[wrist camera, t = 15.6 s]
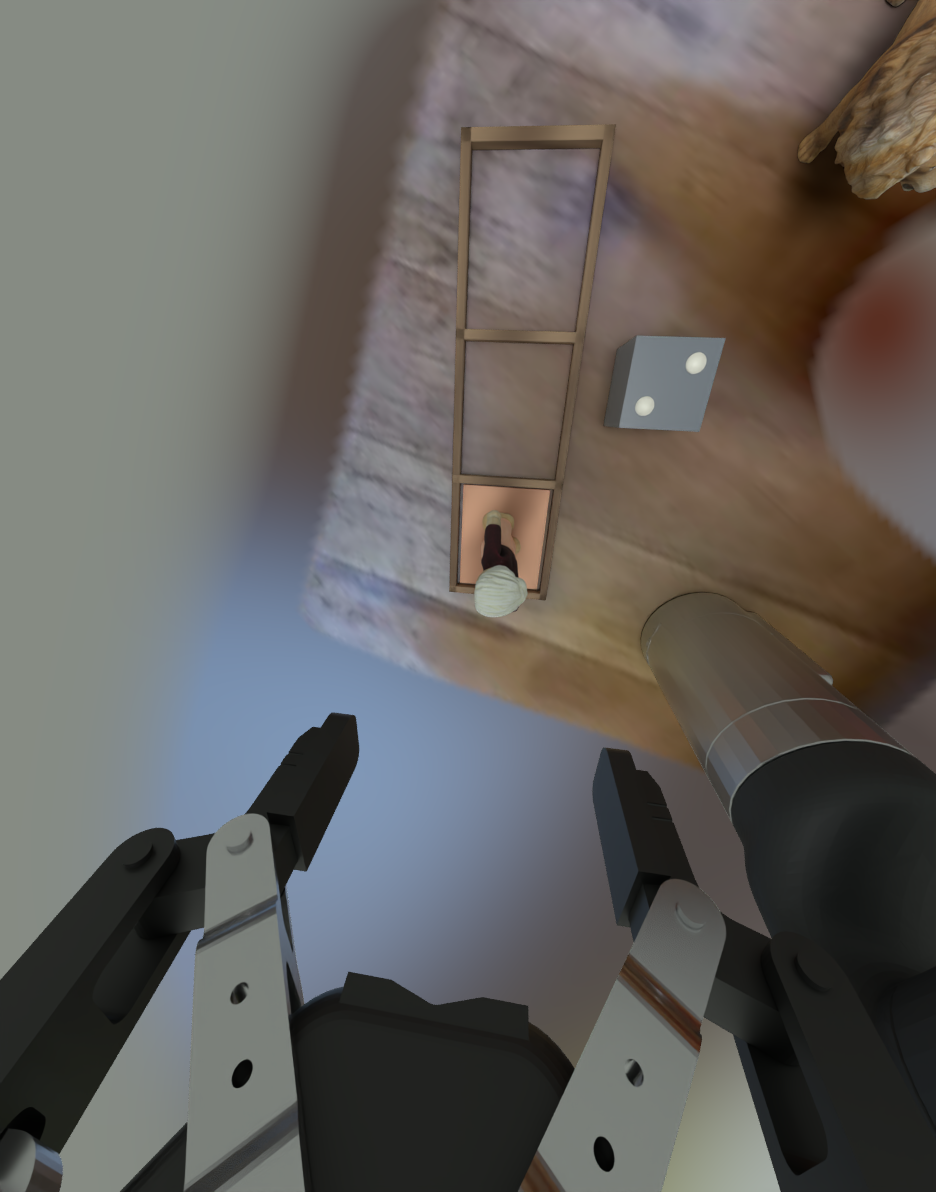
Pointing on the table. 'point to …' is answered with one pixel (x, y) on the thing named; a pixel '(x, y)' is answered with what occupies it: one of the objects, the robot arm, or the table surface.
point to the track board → (511, 500)
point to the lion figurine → (888, 115)
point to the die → (662, 382)
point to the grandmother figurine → (499, 568)
